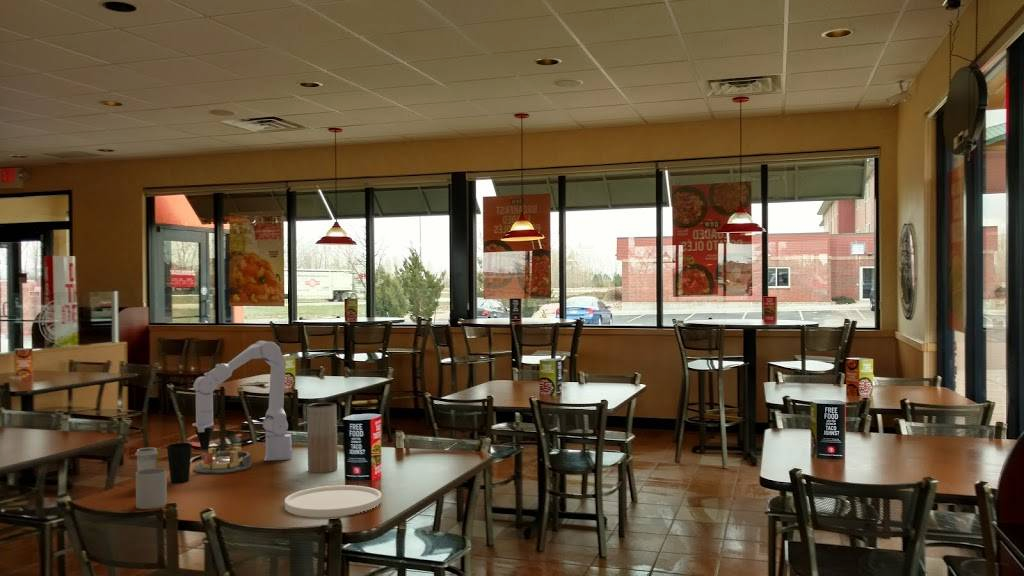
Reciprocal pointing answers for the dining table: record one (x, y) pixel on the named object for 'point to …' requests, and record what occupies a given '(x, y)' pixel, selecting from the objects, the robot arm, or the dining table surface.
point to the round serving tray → (245, 465)
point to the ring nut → (212, 454)
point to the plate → (333, 501)
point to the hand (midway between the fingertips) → (204, 449)
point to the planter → (322, 437)
